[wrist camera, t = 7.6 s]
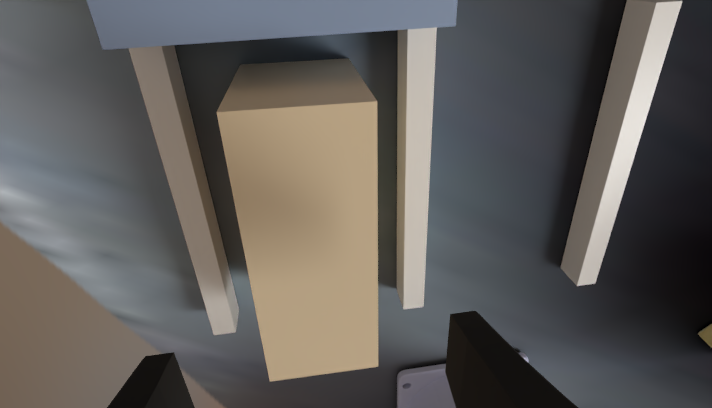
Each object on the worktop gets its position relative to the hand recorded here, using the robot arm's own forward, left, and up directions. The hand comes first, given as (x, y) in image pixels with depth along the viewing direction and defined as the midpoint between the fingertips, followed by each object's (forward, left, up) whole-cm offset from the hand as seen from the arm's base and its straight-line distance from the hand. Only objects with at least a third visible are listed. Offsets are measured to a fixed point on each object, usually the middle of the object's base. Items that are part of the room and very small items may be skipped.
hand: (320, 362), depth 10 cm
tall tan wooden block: (0, 0, -10) cm, 10 cm away
